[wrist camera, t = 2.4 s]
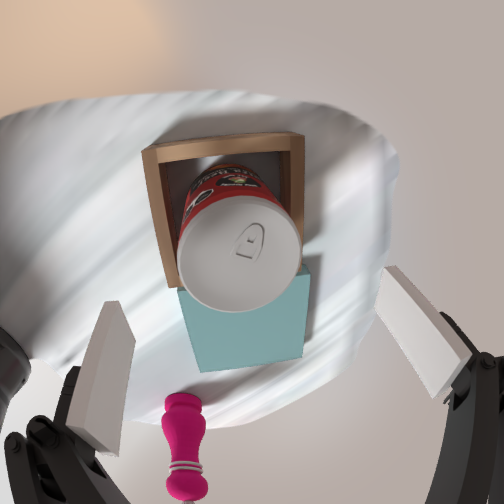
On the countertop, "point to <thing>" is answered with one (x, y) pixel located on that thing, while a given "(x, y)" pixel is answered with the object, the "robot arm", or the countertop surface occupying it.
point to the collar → (158, 154)
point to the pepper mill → (184, 446)
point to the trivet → (248, 329)
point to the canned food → (236, 241)
